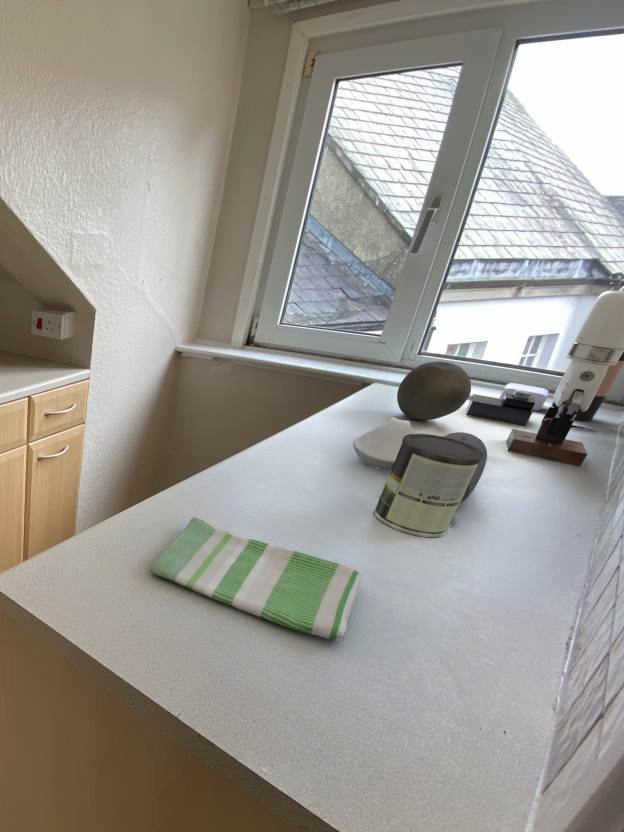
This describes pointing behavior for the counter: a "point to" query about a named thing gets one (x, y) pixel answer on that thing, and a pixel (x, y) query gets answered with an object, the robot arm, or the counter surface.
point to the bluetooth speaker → (477, 475)
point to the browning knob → (542, 436)
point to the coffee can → (427, 484)
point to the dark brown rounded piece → (433, 390)
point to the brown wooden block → (546, 448)
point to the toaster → (501, 409)
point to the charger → (535, 392)
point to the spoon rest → (382, 443)
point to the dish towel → (262, 579)
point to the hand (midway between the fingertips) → (551, 430)
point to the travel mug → (600, 392)
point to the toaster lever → (521, 394)
